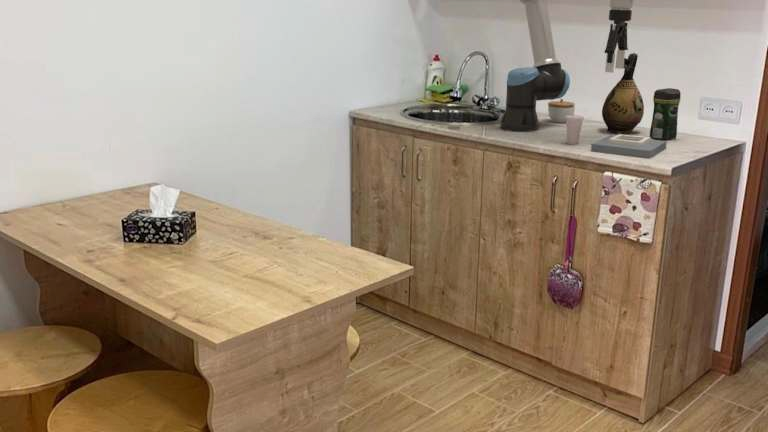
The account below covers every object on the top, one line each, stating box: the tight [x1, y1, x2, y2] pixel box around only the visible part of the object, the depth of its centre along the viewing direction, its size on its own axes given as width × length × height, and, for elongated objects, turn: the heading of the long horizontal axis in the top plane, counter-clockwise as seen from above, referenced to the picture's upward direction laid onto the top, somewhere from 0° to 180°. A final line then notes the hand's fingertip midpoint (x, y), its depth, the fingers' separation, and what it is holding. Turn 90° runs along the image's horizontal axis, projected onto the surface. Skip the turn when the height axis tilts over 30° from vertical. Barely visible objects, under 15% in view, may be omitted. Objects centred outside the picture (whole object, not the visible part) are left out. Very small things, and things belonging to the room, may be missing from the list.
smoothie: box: [566, 103, 585, 145], centre depth 276 cm, size 6×6×14 cm
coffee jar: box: [649, 87, 682, 141], centre depth 285 cm, size 10×8×19 cm
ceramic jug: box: [601, 52, 645, 135], centre depth 297 cm, size 17×15×30 cm
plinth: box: [590, 133, 668, 159], centre depth 267 cm, size 20×20×4 cm
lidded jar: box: [547, 98, 576, 124], centre depth 320 cm, size 11×11×9 cm
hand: (614, 70), depth 276 cm, fingers open, 13 cm apart
